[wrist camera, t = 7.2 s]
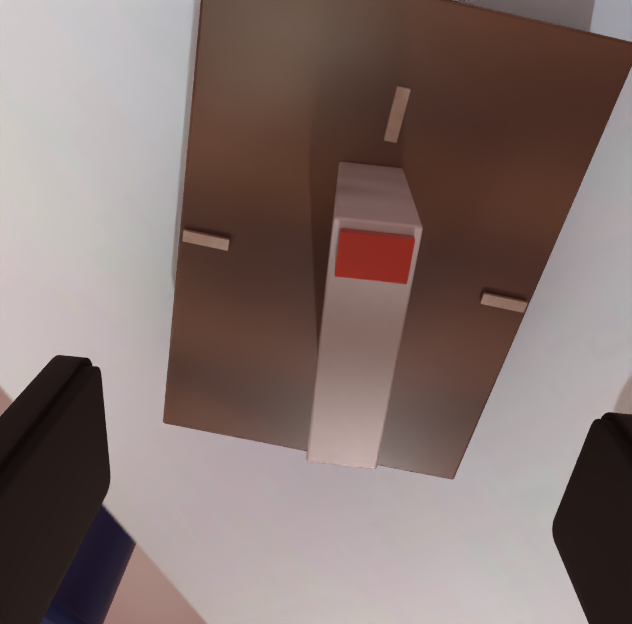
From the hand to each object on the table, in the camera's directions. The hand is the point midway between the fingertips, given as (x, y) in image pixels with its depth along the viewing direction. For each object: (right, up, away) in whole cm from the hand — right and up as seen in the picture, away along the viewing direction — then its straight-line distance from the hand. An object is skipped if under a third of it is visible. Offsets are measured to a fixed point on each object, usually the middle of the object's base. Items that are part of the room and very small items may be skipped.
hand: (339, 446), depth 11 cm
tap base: (+1, +5, +9) cm, 11 cm away
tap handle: (+1, +4, +6) cm, 7 cm away
